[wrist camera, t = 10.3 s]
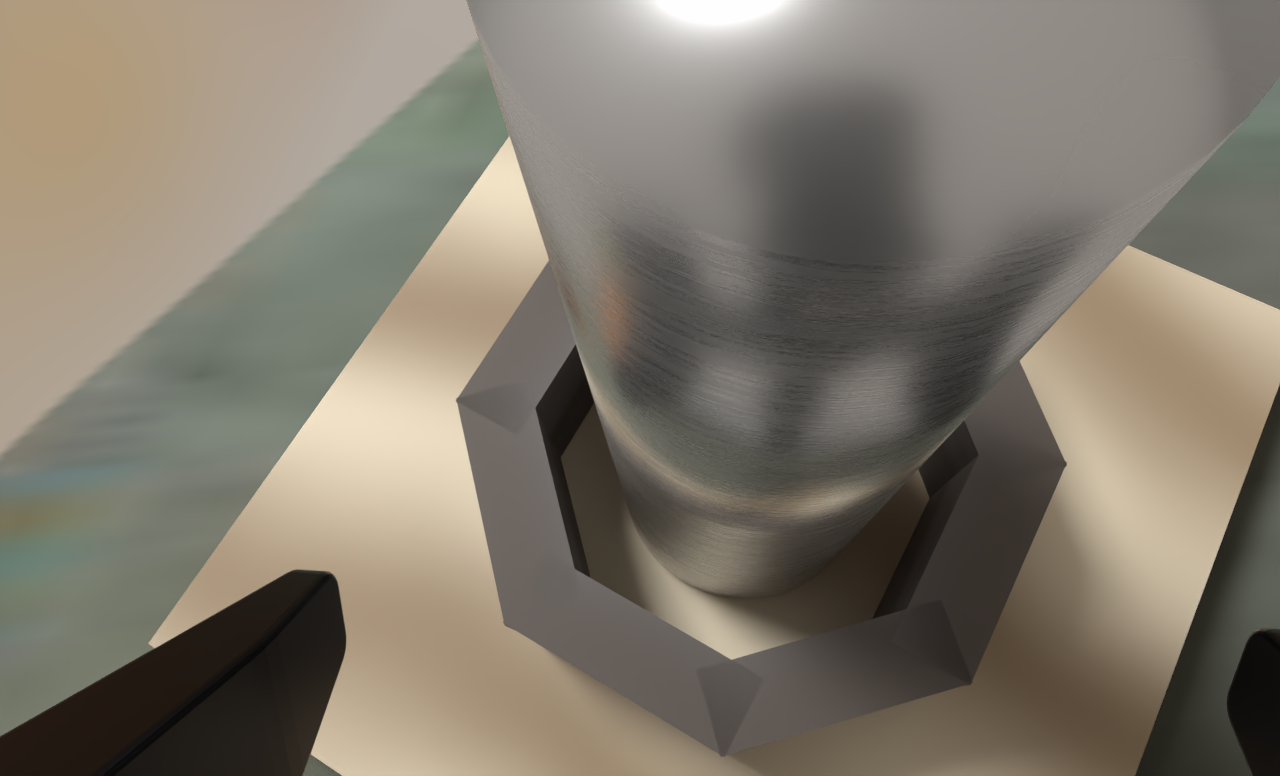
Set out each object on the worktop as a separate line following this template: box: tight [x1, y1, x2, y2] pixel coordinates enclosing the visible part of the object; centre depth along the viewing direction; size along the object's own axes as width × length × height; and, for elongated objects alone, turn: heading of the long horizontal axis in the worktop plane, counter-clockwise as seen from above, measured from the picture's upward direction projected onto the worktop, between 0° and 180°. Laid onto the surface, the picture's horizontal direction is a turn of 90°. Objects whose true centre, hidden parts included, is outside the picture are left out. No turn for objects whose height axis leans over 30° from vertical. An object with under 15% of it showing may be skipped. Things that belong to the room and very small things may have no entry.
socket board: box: [148, 136, 1280, 776], centre depth 16 cm, size 16×16×4 cm
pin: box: [467, 0, 1280, 599], centre depth 11 cm, size 4×4×13 cm
